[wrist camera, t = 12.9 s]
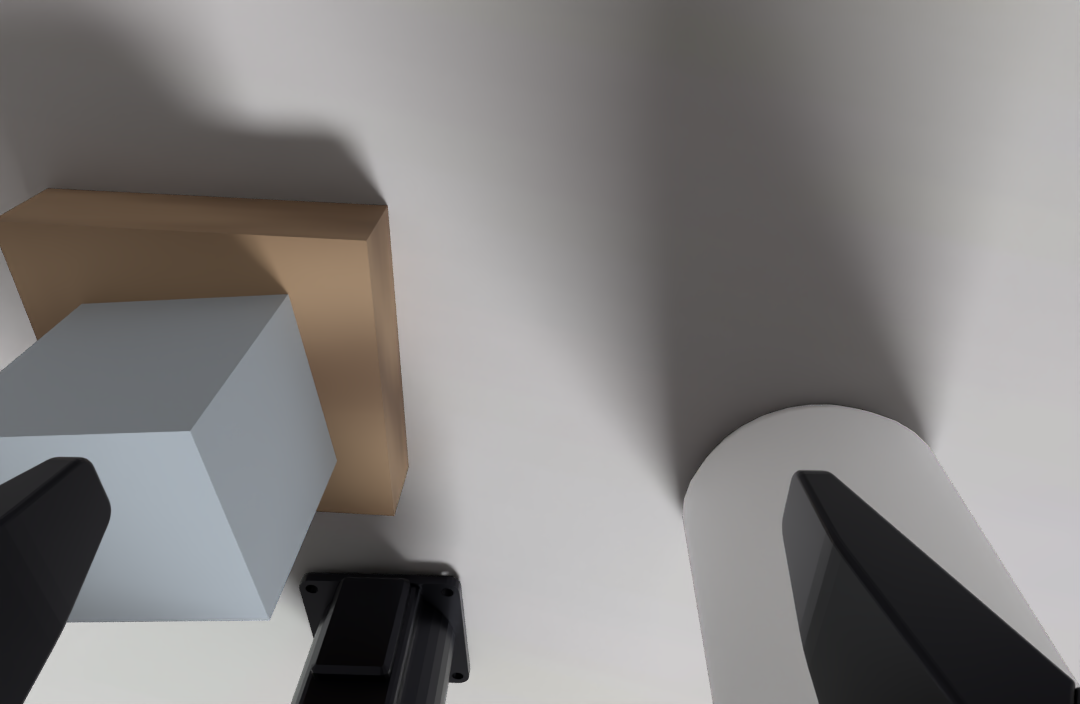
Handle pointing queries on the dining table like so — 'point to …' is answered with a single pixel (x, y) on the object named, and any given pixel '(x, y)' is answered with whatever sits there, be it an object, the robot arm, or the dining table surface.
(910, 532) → the white bottle
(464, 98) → the dining table surface
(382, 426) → the walnut block
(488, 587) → the dining table surface
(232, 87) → the dining table surface
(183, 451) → the grey cube
